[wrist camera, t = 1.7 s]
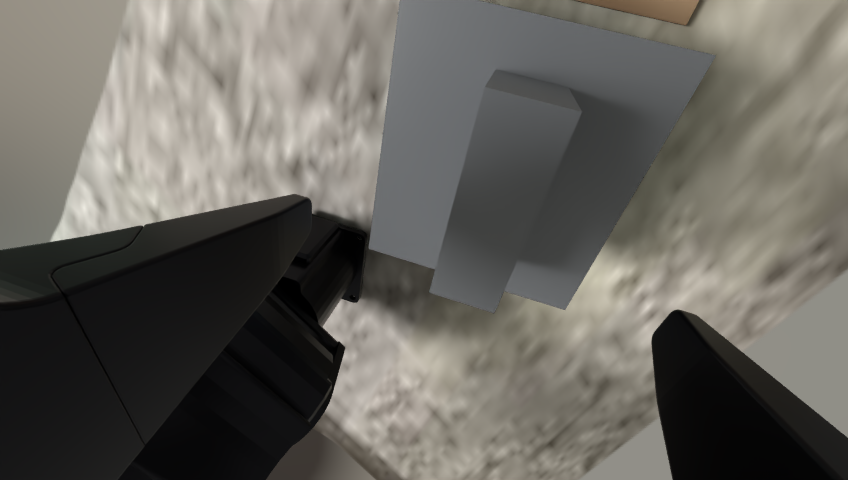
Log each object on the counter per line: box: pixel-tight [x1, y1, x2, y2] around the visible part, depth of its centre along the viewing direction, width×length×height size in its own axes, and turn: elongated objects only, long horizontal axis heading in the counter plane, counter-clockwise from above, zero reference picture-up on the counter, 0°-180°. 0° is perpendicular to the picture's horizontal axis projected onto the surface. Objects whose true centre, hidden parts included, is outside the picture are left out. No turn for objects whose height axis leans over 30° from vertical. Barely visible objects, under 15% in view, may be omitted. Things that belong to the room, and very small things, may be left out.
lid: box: [369, 0, 716, 313], centre depth 13 cm, size 10×9×6 cm
